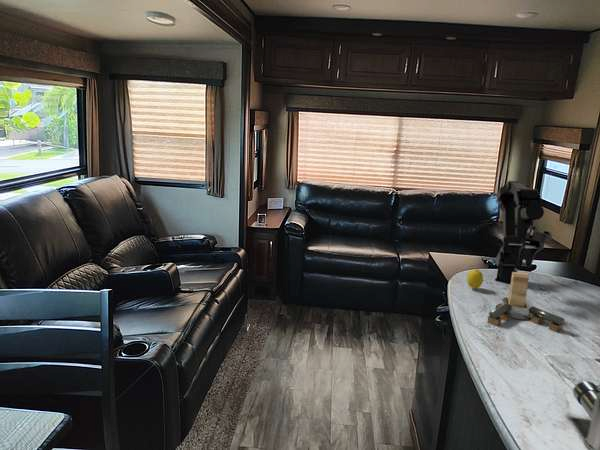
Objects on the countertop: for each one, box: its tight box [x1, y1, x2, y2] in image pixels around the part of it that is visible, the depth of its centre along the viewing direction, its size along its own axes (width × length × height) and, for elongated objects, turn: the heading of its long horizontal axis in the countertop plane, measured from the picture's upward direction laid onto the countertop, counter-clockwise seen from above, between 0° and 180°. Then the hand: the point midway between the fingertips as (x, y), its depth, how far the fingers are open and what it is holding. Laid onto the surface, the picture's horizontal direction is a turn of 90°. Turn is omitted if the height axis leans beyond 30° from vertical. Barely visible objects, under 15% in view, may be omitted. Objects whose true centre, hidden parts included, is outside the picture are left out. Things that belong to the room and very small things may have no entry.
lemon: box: [466, 268, 484, 290], centre depth 169 cm, size 6×6×8 cm
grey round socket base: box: [494, 297, 533, 321], centre depth 150 cm, size 12×12×3 cm
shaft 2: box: [529, 305, 565, 333], centre depth 141 cm, size 10×3×4 cm, turn 30°
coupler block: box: [507, 272, 530, 308], centre depth 148 cm, size 5×5×12 cm
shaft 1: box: [486, 304, 512, 327], centre depth 143 cm, size 10×3×4 cm, turn 130°
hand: (522, 266), depth 160 cm, fingers open, 9 cm apart
